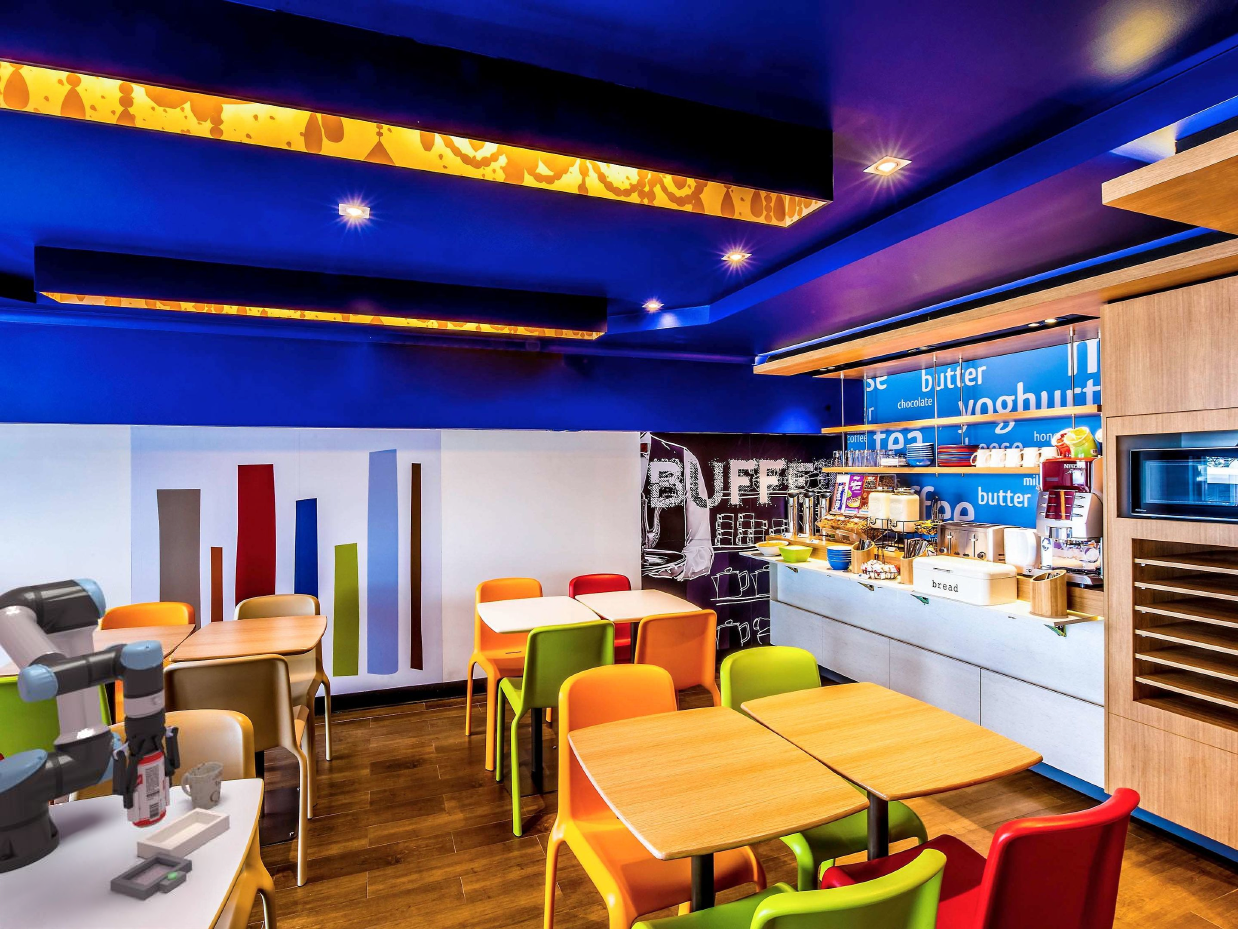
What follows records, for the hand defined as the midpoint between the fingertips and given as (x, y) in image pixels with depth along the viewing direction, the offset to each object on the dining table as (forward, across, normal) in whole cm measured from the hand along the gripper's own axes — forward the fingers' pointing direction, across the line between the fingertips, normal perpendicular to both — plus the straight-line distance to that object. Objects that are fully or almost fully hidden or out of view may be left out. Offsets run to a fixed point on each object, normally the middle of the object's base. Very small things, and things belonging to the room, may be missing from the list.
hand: (149, 812), depth 147 cm
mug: (+16, +27, +20) cm, 37 cm away
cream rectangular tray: (+16, +13, +7) cm, 21 cm away
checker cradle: (+16, 0, -1) cm, 16 cm away
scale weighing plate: (+16, 0, 0) cm, 16 cm away
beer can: (+2, 0, 0) cm, 2 cm away
